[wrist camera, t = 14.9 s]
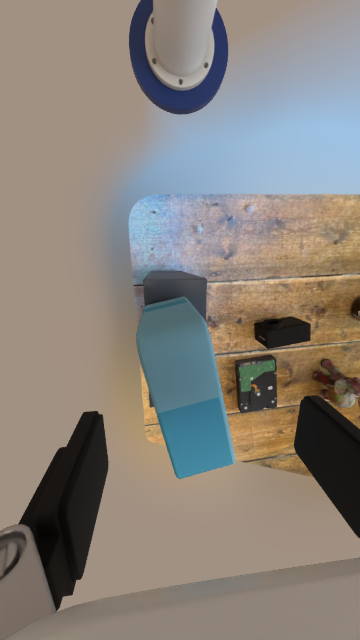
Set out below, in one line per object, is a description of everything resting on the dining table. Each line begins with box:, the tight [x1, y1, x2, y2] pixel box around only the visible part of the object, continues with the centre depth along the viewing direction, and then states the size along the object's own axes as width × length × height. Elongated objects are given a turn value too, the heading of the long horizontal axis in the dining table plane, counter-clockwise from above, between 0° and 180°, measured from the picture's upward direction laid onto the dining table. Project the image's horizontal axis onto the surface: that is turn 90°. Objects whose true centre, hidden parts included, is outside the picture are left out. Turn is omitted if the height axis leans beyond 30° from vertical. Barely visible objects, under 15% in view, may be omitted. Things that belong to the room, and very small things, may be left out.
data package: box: [136, 296, 235, 479], centre depth 20 cm, size 12×4×12 cm, turn 13°
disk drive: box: [235, 355, 277, 413], centre depth 58 cm, size 10×3×15 cm
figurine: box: [314, 359, 360, 408], centre depth 54 cm, size 8×12×15 cm, turn 178°
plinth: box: [143, 271, 207, 407], centre depth 39 cm, size 16×7×27 cm, turn 0°
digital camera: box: [254, 317, 310, 349], centre depth 52 cm, size 10×5×7 cm, turn 99°
